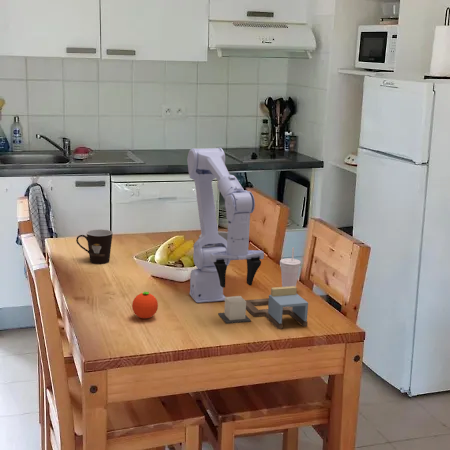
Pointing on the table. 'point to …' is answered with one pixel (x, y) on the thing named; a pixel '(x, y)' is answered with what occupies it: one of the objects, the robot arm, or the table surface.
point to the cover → (286, 303)
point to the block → (235, 308)
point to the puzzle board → (264, 312)
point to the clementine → (145, 305)
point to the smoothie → (289, 270)
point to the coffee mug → (98, 245)
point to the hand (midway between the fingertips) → (235, 285)
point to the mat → (233, 320)
